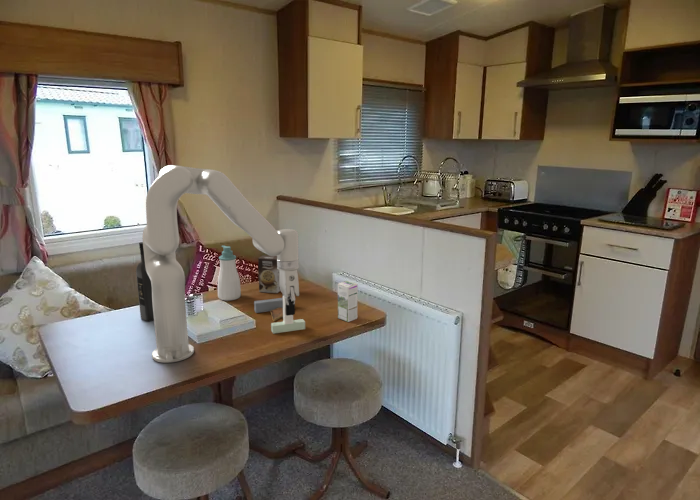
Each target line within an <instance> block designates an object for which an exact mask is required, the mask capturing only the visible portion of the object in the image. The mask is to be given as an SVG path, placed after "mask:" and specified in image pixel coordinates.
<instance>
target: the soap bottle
mask: <svg viewBox="0 0 700 500" xmlns="http://www.w3.org/2000/svg"><path fill="white" fill-rule="evenodd" d="M221 247H222V248H223V251H222V250H221V255H220V256H218V259H219V272H218V277H217V298H218V299H219V300H222V301H235V300H237V299H240V298H241V295H242V293H241V292H242V291H241V288H242V287H241V281H240V276H239V273H238V268H237V265H236V259H237V256H236V255H234V254H233V253H234V252H233V250H232V249H231V246H229V245H228V246H226V245H221Z"/></svg>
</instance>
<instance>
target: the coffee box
mask: <svg viewBox="0 0 700 500" xmlns="http://www.w3.org/2000/svg"><path fill="white" fill-rule="evenodd" d="M257 260H258V262H257V263H258V264H257V265H258V292H259V293H269V294H278V293H279V292H281V291H280V282H279V275H280V272H279V271H280V270H279V269H277V256H269V255H266V254H265V255H263V254H262V255H261V256H259V257H258V258H257Z"/></svg>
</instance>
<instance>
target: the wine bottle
mask: <svg viewBox="0 0 700 500" xmlns="http://www.w3.org/2000/svg"><path fill="white" fill-rule="evenodd" d="M138 245H139V247H138V248H139V251H140V262H139V263H138V264H137V265H136V267H135V268H136V269H135V272H136V273H135V274H136V283H137V294H138V303H139V305H138V306H139V314H140V319H141V320H144V321H145V322H151V321H154V313H153V304H152V285H151V280H150V278H149V276H148V274H147V272H146V267H145V259H144V249H143V241H140V242H138Z"/></svg>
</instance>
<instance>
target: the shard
mask: <svg viewBox="0 0 700 500" xmlns="http://www.w3.org/2000/svg"><path fill="white" fill-rule="evenodd" d="M269 312H270V314H271V318H272V321H273V322H276V321H277V320H279V319H281V318H283V308H277V309H274V310H271V311H269Z"/></svg>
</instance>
